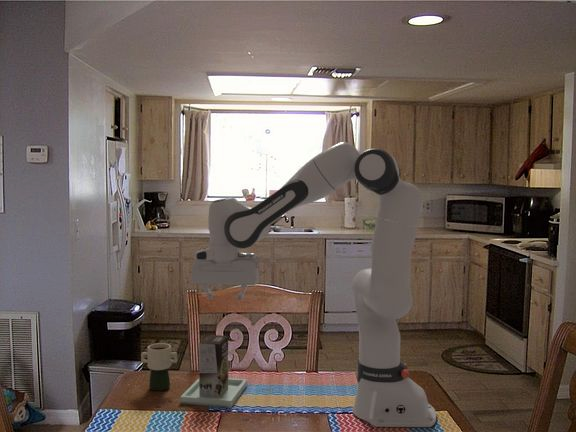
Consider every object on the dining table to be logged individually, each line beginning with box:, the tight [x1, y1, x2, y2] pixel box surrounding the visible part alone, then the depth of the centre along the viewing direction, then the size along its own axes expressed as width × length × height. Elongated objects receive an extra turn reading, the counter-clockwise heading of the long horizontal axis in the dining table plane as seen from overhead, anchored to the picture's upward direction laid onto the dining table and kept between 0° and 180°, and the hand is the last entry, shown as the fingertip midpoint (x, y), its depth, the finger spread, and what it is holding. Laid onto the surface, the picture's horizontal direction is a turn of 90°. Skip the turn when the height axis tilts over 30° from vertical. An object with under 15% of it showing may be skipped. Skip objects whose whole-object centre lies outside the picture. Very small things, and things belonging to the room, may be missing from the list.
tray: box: [179, 377, 248, 409], centre depth 173 cm, size 15×17×2 cm
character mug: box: [140, 342, 178, 391], centre depth 177 cm, size 11×7×13 cm, turn 91°
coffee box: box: [198, 334, 229, 398], centre depth 172 cm, size 9×6×16 cm
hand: (225, 299), depth 173 cm, fingers open, 8 cm apart
